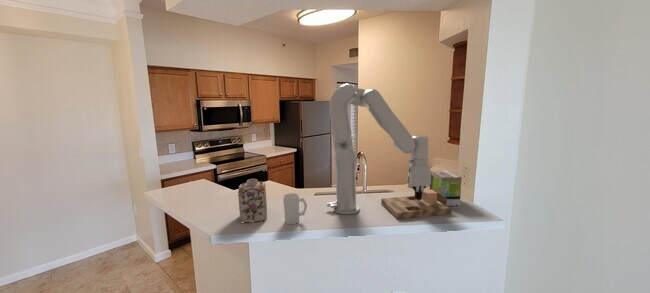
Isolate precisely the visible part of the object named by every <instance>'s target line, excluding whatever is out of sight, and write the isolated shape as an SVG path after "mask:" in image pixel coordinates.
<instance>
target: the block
mask: <svg viewBox="0 0 650 293" xmlns="http://www.w3.org/2000/svg"><path fill="white" fill-rule="evenodd" d="M422 201H424V202H425V203H427V204H430V203H437V192H435V191H433V190H430V189H424V190H423V192H422Z"/></svg>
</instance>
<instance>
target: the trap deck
mask: <svg viewBox="0 0 650 293" xmlns="http://www.w3.org/2000/svg"><path fill="white" fill-rule="evenodd" d="M431 190H433V189H431ZM433 191H435V190H433ZM435 192H437V191H435ZM380 205H381V206H382V207H384V209H386V210H387V211H388V212H389V213H390V214H391V215H392V216H393V217H394V218H395V220H405V219H414V218H415V219H416V218H417V219H418V218H426V217H437V216H445V215H447V216H448V215H452V206H447V197H446V196H444V195H442V194H441V193H439V192H437V203H430V204H427V203H425V202H424V201H422V200H417V199H416V198H415V195H409V196H408V195H407V196H397V197H386V198H383V197H382V198H381V200H380Z"/></svg>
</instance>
